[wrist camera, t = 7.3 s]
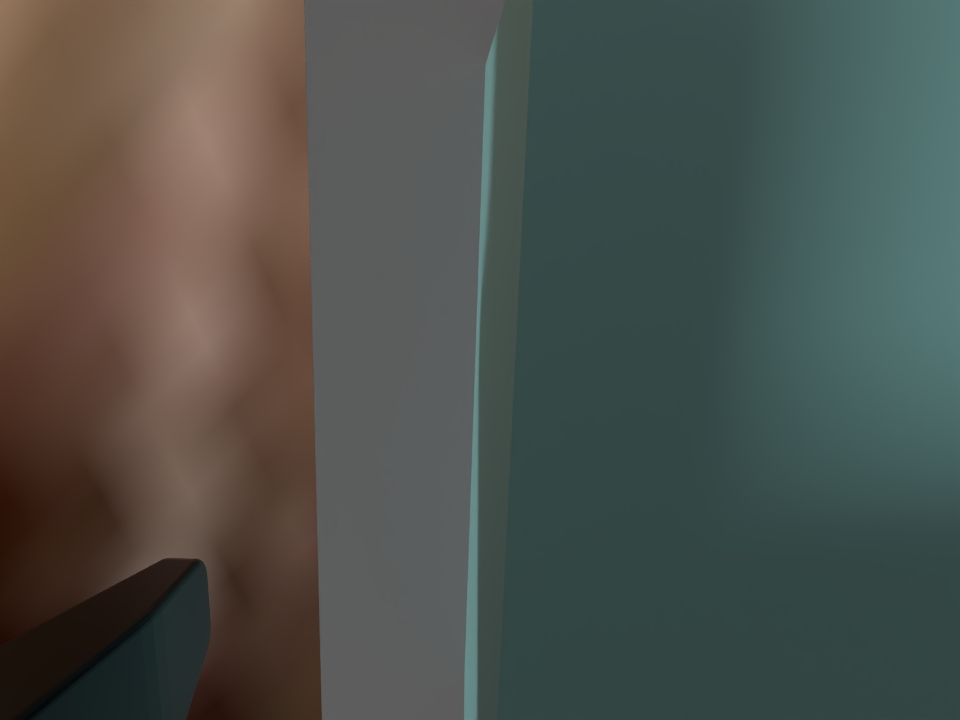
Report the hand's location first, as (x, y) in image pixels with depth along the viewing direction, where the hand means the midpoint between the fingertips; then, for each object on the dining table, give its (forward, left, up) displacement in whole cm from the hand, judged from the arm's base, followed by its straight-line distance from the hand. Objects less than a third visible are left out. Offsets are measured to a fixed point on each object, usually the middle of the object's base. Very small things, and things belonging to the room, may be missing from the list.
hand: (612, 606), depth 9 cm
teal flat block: (0, 0, -7) cm, 7 cm away
